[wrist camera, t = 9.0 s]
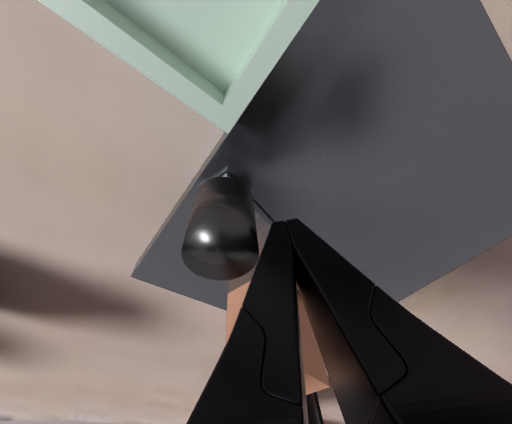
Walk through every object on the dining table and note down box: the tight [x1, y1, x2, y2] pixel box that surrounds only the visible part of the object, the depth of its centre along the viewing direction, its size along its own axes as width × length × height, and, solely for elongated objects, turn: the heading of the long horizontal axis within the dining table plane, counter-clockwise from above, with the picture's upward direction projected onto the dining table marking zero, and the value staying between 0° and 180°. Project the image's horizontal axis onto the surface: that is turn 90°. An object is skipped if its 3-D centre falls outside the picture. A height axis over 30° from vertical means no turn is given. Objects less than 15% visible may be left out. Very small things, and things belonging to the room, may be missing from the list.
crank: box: [181, 173, 299, 291], centre depth 12 cm, size 14×4×4 cm, turn 37°
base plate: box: [131, 0, 512, 310], centre depth 13 cm, size 16×18×1 cm
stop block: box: [226, 281, 330, 395], centre depth 13 cm, size 4×4×5 cm
